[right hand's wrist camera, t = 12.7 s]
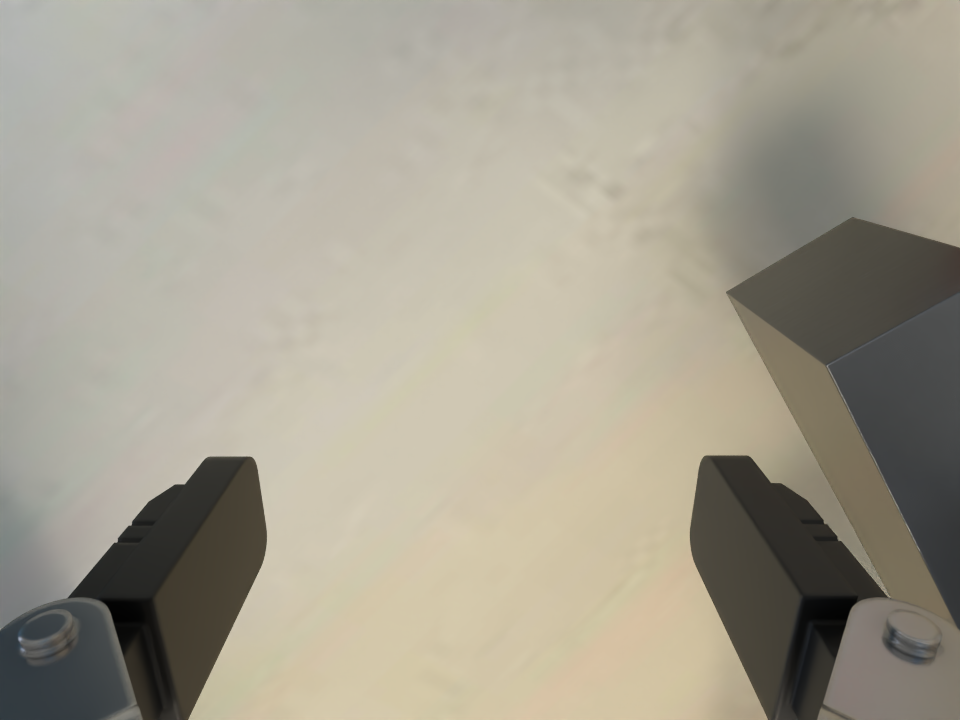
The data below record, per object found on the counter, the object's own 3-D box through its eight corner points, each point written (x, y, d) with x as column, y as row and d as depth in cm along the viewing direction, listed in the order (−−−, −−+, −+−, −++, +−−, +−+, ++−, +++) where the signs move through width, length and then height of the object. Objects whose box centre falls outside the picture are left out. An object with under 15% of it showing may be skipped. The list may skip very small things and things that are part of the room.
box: (725, 291, 28) (825, 365, 20) (852, 216, 27) (1014, 262, 19) (903, 621, 36) (1031, 775, 27) (1011, 573, 34) (1179, 719, 26)
